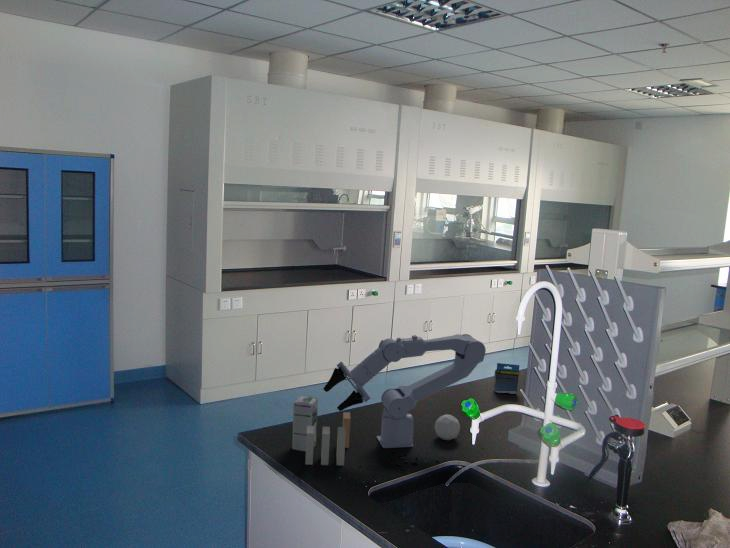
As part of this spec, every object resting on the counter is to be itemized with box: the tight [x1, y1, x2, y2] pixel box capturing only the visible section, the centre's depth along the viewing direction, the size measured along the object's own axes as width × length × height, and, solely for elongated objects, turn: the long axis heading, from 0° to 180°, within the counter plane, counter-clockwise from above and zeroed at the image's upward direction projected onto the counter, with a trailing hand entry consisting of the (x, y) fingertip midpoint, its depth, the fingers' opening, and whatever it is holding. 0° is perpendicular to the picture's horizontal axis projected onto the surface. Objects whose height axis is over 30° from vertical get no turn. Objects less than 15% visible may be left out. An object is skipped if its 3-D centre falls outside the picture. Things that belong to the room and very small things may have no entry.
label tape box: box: [492, 362, 520, 393], centre depth 230 cm, size 9×4×12 cm, turn 85°
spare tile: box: [341, 411, 352, 449], centre depth 175 cm, size 2×5×9 cm, turn 4°
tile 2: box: [335, 426, 346, 466], centre depth 164 cm, size 2×5×9 cm, turn 4°
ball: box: [434, 413, 461, 441], centre depth 183 cm, size 8×8×8 cm
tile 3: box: [320, 425, 331, 466], centre depth 163 cm, size 2×5×9 cm, turn 4°
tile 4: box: [304, 426, 315, 466], centre depth 163 cm, size 2×5×9 cm, turn 4°
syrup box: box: [291, 395, 319, 452], centre depth 171 cm, size 6×6×14 cm
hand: (331, 399), depth 172 cm, fingers open, 7 cm apart
